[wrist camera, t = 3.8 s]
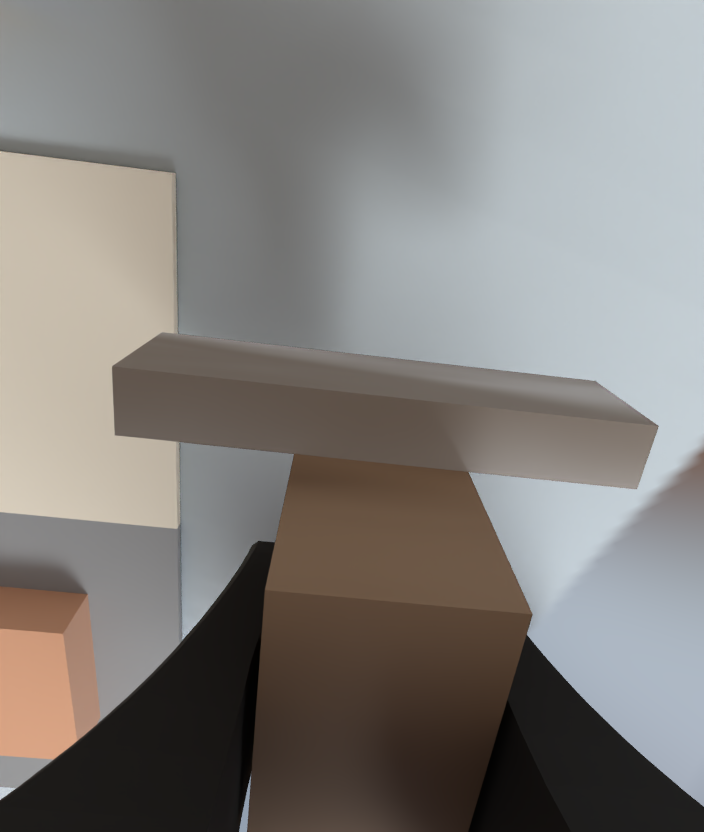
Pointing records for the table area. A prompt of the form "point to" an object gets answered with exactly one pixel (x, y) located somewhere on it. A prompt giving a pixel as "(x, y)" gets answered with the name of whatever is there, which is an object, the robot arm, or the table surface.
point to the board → (87, 409)
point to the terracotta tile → (45, 672)
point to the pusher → (380, 558)
